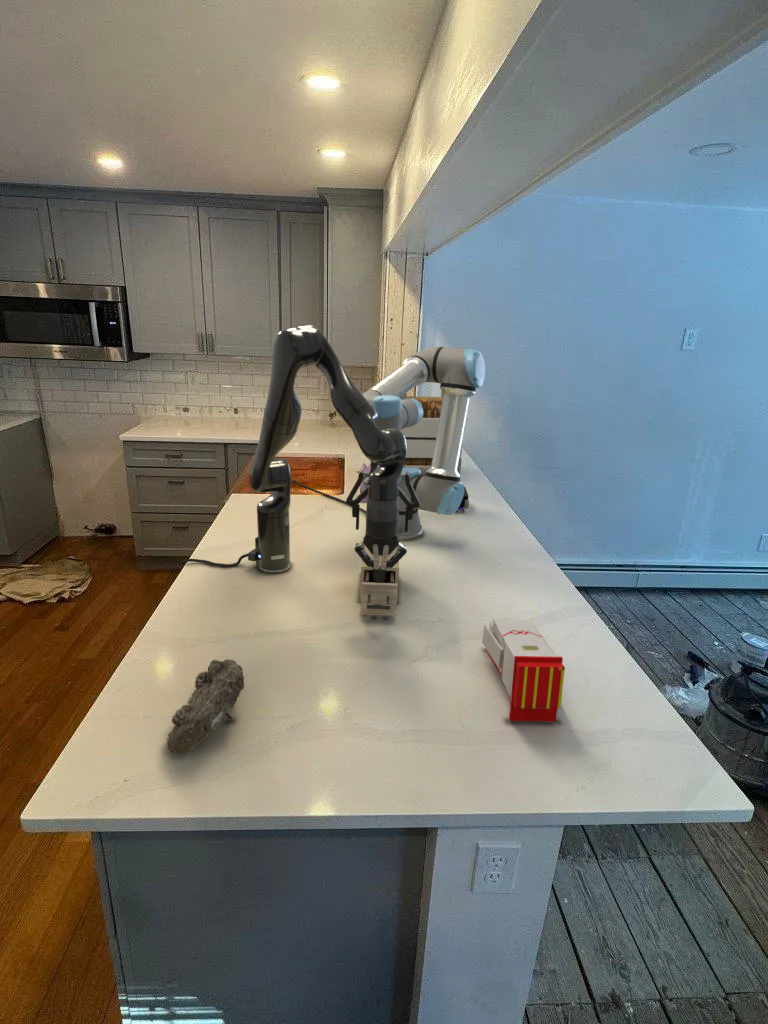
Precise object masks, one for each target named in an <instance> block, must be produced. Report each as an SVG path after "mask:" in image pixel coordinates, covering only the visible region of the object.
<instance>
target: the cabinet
mask: <svg viewBox="0 0 768 1024" xmlns="http://www.w3.org/2000/svg"><path fill="white" fill-rule="evenodd" d="M396 549H397V547H396V548H395V549H394V551H393V552H392V553H391V554H390V555H388V557H387V561H388V560H389V559H390V558H391V557H392V556H393V555H394V554H395V553H396ZM365 552H366V553H367V554H368V555H369V557H370V558H371V559H372V560H374V559H373V555H372V554H371V553H370V552H369V550H368V549H367V547H366V546H365ZM381 560H382V556H381V555H380V556H379V566H381ZM366 570H374V569H373V567H368V566H367V565H366V564H365V563H364V561H363V560H362V559H361V564H360V586H359V588H360V590H359V602H361V593H362V582H365V580H366ZM386 571H393V572H394V583H396V584H397V594H396V604H398V593H399V578H400V576H399V575H400V560H399V561H398V562H397V563H396V564H395V565H394V566H393V567H392V568H390V567H389V568H387V569H386Z"/></svg>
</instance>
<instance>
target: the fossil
mask: <svg viewBox="0 0 768 1024" xmlns="http://www.w3.org/2000/svg"><path fill="white" fill-rule="evenodd" d="M243 670H244V669H243V667H242V665H240V664H237V662H236V661H235V660H234V659H232V658H231V659H227V658H226V659H224V660H223V661H222V660H217V659H212V660H211V661H210V663H209V665H208V666H207V671H201V672H199V673H198V674H197V675H196V676H195V680H194V684H195V685H194V687H195V689H194V690H193V693H192V694H191V697H190V698H189V700H188V704H184V705H182V706H181V707H180V709H177V710H176V711H175V713H174V715H173V716H172V718H171V723H172V724H173V727H172V730H171V731H170V732H168V734H167V738H166V741H167V742H166V745H167V749H168V750H169V751H173V752H174V753H176V754H178V753H182V752H188V751H189V752H192V751H193V750H195V748H196V747H197V746H199V744H200V743H201V742H203V741H204V740H205V739H206V738H207V737H208V736H209V735H210V734H211V733H212V732H214V730H215V729H217V727H218V726H219V724H220V722H221V721H222V720H223V719H224V718H225V716H226V717H227V719H229V720H233V717H232V715H230V714H229V710H230V709H231V708H234V706H235V704H236V703H237V702H238V699H239V697H240V695H241V693H242V691H243V690H245V689H244V688H245V675H244V671H243Z"/></svg>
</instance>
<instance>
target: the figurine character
mask: <svg viewBox="0 0 768 1024" xmlns="http://www.w3.org/2000/svg"><path fill="white" fill-rule="evenodd" d="M469 498H470V496H469V494H468V491H467V488H466V486H464V495H463V499H462V502H461V504H460V506H459V508H458V509H457V510H456V512H455V513H458V510H461V511H462V513H465V509H469V506H470V500H469Z"/></svg>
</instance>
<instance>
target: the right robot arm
mask: <svg viewBox="0 0 768 1024" xmlns="http://www.w3.org/2000/svg"><path fill="white" fill-rule="evenodd" d="M485 377H486V363H485V359H484V355H483V354H482V353H481V351H479V350H477V349H473V348H472V349H471V348H467V347H466V348H464V347H463V348H461V347H447V346H431V347H427V348H425V349H421V350H419V351H417V352H415V353H414V354H411V355H410V356H408V357H407V358H405V359H404V361H403V362H402V363H401V366H400V367H398V368H397V369H395V370H394V371H393V372H391V373H389V374H388V375H387V376H385V377H384V378H383V379H382V380H380V381H379V382H377V383H376V384H374V385H373V386H371V387H370V388H369V389H367V390H366V391H365V392H363V393H362V394H363V396H364V397H365V398H366V399H367V400H368V402H369V403H370V404H371V405H372V406H373V407H374V409H375V410H376V412H377V414H378V419H377V422H376V423H375V424H376V426H377V427H378V429H379V430H380V431H381V430H385V429H389V428H395V429H398V430H401V429H403V428H407V427H411V426H414V425H415V424H417V423H418V422H420V420H421V419H422V417H423V408H422V405H421V404H420V402H418V401H417V400H415V399H408V398H406V399H404V400H401V398H400V397H402V396H403V395H404V394H405V393H407V394H408V393H409V391H411V390H412V389H413V388H415V387H419V386H421V385H424V384H425V383H435V384H440V386H439V389H440V391H441V392H443V401H442V407H441V412H440V418H439V424H438V430H437V436H436V442H435V448H434V454H433V460H432V465H430V466H429V468H428V469H426V470H425V475H424V474H422V470H421V468H419V467H414V466H411V467H409V466H406V467H405V466H404V468H403V469H402V472H401V475H400V478H399V492H398V502H399V514H398V532H397V537H398V539H399V541H410V540H415V539H418V538H420V537H421V536H422V535H423V525H422V524H421V518H420V515H419V510H421V511H426V512H429V513H435V514H437V515H445V516H451V515H453V514H455V513H457V512H456V510H457V511H458V508H459V506H460V504H461V502H462V499H463V495H464V487H465V485H464V483H463V482H462V481H461V474H460V475H459V473H458V472H457V467H458V461H459V456H460V450H461V444H462V445H463V443H462V441H463V439H464V433H465V432H464V431H465V426H466V421H467V415H468V409H469V403H470V399H471V398H472V397H473V396H474V395H476V391H477V389H479V388H481V387H482V386H483V384H484V382H485ZM370 464H371V468H370V472H369V473H367V472H363V469H361V470H359V472H358V477H357V479H356V481H355V483H354V485H353V486H352V488H351V490H350V492H349V494H348V495H347V497H346V500H343V499H341V498H338V497H336V496H334V495H333V496H332V495H331V494H328V493H325V492H322V491H320V490H317V489H314V488H312V487H309V486H307V485H304V484H303V483H299V482H298V481H296V480H293V479H292V478H291V483H293V484H295V485H297V486H300V488H301V487H302V488H304V489H306V490H309V491H311V492H313V493H316V494H319V495H321V496H325V497H327V498H330V499H332V500H335V501H337V502H340V503H342V504H344V505H347V506H349V507H351V517H352V518H355V530H356V531H358V530H359V529H360V511H361V512H362V513H364V514H365V515H366V509H363V508H362V507H360V503H361V502H363V501H362V500H363V499H364V498H365V497H366V496H367V495H368V486H367V487H366V488H365V489H364V490H363V491H362V492H361V493H360V492H359V494H358V495H357V496H356V494H357V492H358V491H359V489H360V486H361V484H362V480H365V479H366V477H369V476H370V474H371V473H372V472H373V471H374V470H375V469H376V468H377V466H378V464H377V463H374V462H372V461H370ZM355 496H356V497H355ZM354 497H355V499H354Z"/></svg>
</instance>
